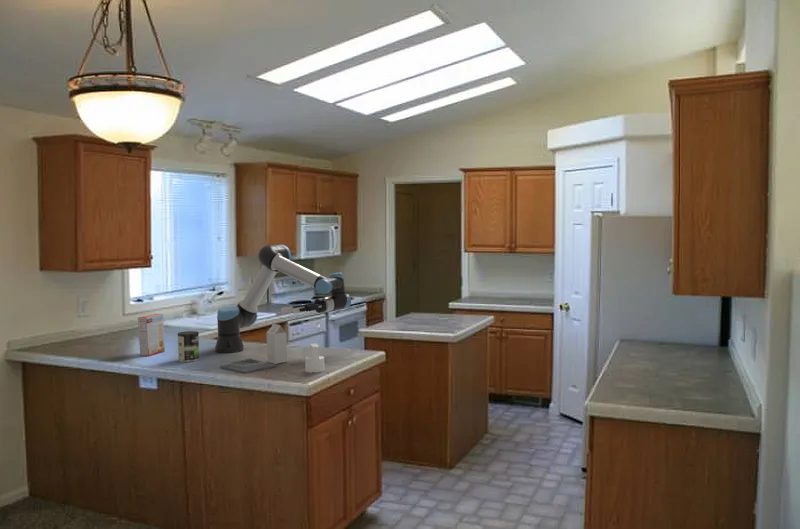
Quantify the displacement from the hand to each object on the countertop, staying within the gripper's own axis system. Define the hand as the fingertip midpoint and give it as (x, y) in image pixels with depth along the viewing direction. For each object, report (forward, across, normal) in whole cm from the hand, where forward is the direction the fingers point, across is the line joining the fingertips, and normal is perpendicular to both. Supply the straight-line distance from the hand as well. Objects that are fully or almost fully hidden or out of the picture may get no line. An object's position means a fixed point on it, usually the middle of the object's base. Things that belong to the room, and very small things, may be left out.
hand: (287, 311), depth 337 cm
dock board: (+25, -2, -23) cm, 34 cm away
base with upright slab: (+3, -29, -28) cm, 40 cm away
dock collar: (+25, -2, -23) cm, 34 cm away
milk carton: (+9, 0, -25) cm, 26 cm away
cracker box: (+52, +63, -15) cm, 83 cm away
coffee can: (+42, +34, -19) cm, 57 cm away
